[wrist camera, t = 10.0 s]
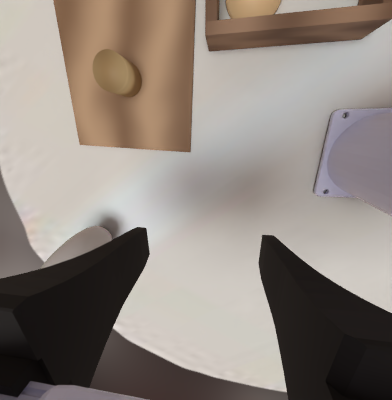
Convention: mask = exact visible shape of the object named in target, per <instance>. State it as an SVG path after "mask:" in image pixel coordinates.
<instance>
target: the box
mask: <svg viewBox="0 0 392 400" xmlns="http://www.w3.org/2000/svg"><path fill="white" fill-rule="evenodd" d="M391 19H392V0H359V3H358V6H352V7H342V8H332V9H323V10H313V11H303V12H294V13H284V14H274V15H264V16H255V17H245V18H235V19H226V20H219V0H206V21H205V36H206V40H207V44H208V49H209V51H218V50H230V49H243V48H256V47H268V46H281V45H294V44H307V43H319V42H332V41H345V40H358V39H362V38H364V37H365V36H367V35H368V34H370V33H371V32H373V31H374V30H376V29H377V28H379V27H380V26H382V25H383V24H385V23H386V22H388V21H389V20H391Z"/></svg>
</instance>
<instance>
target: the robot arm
mask: <svg viewBox="0 0 392 400" xmlns="http://www.w3.org/2000/svg"><path fill="white" fill-rule="evenodd" d="M344 113H346V114H347V116H346V117H345V118H343V117H342V115H343V114H344ZM326 189H327V192H325V193H323V191H324V190H326ZM314 193H315V194H316V195H317V196H329V197H357V198H359V199H361V200H362V201H364V202H366V203H368V204H370V205H372V206H374V207H375V208H377V209H379V210H381V211H383V212H385V213H387V214H388V215H390V216H392V108H368V109H339V110H336V111H334V112H333V113H332V115H331V118H330V123H329V127H328V131H327V136H326V140H325V144H324V149H323V153H322V157H321V162H320V166H319V170H318V175H317V179H316V183H315V188H314ZM149 255H150V253H149V246H148V238H147V230H146V228H141V227H137V228H134V229H132V230H130V231H128V232H126V233H125V234H123V235H121V236H119V237H117V238H115V239H113V240H111V241H110V242H108V243H106V244H104V245H102V246H100V247H97V248H95V249H93V250H91V251H89V252H87V253H84V254H82V255H80V256H77V257H75V258H72V259H69V260H66V261H63V262H60V263H58V264H55V265H52V266H49V267H45V268H42V269H38V270H35V271H31V272H28V273H24V274H19V275H15V276H10V277H6V278H1V279H0V400H147V399H142V398H137V397H132V396H127V395H122V394H116V393H111V392H106V391H101V390H95V389H91V388H89V386H90V384H91V381H92V378H93V376H94V373H95V370H96V367H97V365H98V362H99V360H100V357H101V355H102V352H103V350H104V347H105V344H106V342H107V340H108V338H109V335H110V333H111V331H112V328H113V326H114V324H115V321H116V319H117V317H118V315H119V313H120V310H121V308H122V306H123V304H124V302H125V300H126V299H127V297H128V295H129V293H130V292H131V290H132V288H133V287H134V285H135V283H136V281H137V280H138V278H139V276H140V274H141V273H142V271H143V269H144V267H145V265H146V262H147V260H148V257H149ZM259 268H260V275H261V280H262V283H263V287H264V290H265V293H266V297H267V300H268V303H269V307H270V310H271V313H272V317H273V320H274V324H275V329H276V334H277V339H278V344H279V349H280V354H281V360H282V365H283V370H284V376H285V382H286V388H287V394H288V399H289V400H392V313H390V312H388V311H386V310H384V309H382V308H380V307H378V306H376V305H374V304H372V303H370V302H368V301H366V300H364V299H362V298H360V297H358V296H357V295H355V294H353V293H351V292H349V291H348V290H346V289H344V288H342V287H341V286H339V285H337V284H336V283H334V282H333V281H331V280H330V279H328V278H326V277H325V276H323V275H322V274H320V273H319V272H317V271H316V270H315V269H313V268H312V267H311V266H309V265H308V264H307V263H305V262H304V261H303V260H301V259H300V258H299V257H298V256H297V255H295V254H294V253H293V252H292V251H291V250H289V249H288V248H287V247H286V246H285V245H284V244H283V243H281V242H280V241H279V240H278V239H277V238H276V237H275V236H272V235H262V242H261V250H260V257H259Z"/></svg>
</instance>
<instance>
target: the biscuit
mask: <svg viewBox="0 0 392 400" xmlns="http://www.w3.org/2000/svg"><path fill="white" fill-rule="evenodd" d="M280 2H281V0H226V7H227V11H228V14H229V16H230V18H231V19H235V18H245V17H255V16H264V15H274V14H275V12H276V10H277V9H278V7H279V4H280Z"/></svg>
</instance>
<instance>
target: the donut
mask: <svg viewBox="0 0 392 400" xmlns="http://www.w3.org/2000/svg"><path fill="white" fill-rule="evenodd" d="M111 240H112V236H111V234H110V232H109V231H108V230H106V229H105V228H103V227H100V226H94V227H89V228H86V229H84V230H82V231H81V232H79V233H77V234H75V235H74V236H73V237H71V238H70V239H69V240H67V241H66V242H65V243H64V244H63V245H62V246H61V247H59V248H58V249H57V250H56V251H55V252H54V253H53V254H52V255H51V256H50V257H49V258H48V259H47V261H46V262H45V263H44V264H43V265H42V267H41V268H40V269H42V268H45V267H49V266H52V265H55V264H58V263H60V262H63V261H66V260H69V259H72V258H75V257H77V256H80V255H82V254H84V253H87V252H89V251H91V250H93V249H95V248H97V247H100V246H102V245H104V244H106V243H108V242H110V241H111Z"/></svg>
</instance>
